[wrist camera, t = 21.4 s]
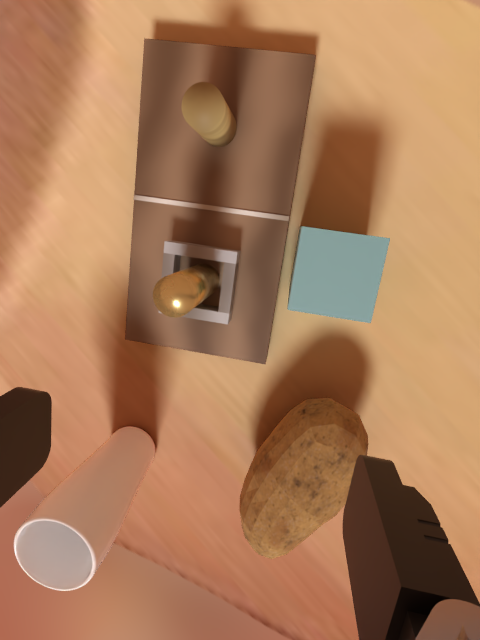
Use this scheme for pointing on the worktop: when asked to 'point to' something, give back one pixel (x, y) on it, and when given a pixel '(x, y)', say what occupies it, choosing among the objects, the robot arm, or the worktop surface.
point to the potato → (300, 475)
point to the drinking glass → (84, 513)
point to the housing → (337, 273)
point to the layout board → (215, 189)
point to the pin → (185, 289)
